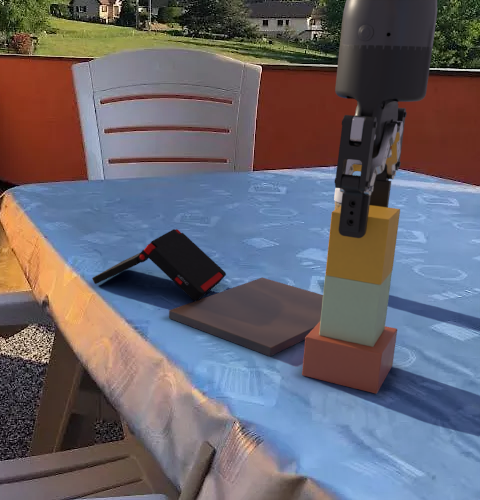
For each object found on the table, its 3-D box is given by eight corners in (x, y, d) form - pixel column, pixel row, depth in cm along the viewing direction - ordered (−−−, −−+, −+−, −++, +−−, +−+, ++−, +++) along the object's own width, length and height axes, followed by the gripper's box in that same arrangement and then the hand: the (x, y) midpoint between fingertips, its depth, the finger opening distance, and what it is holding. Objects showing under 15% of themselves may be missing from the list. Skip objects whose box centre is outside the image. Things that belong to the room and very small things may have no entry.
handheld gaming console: (228, 273, 92) (184, 322, 97) (161, 211, 95) (121, 262, 99) (201, 294, 84) (155, 347, 89) (129, 226, 86) (87, 281, 91)
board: (261, 284, 93) (262, 277, 93) (358, 313, 84) (359, 305, 84) (168, 318, 81) (168, 310, 81) (270, 356, 72) (270, 347, 71)
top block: (339, 262, 69) (345, 202, 68) (392, 270, 67) (400, 208, 65) (325, 275, 65) (331, 211, 63) (381, 285, 63) (389, 219, 61)
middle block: (333, 319, 71) (339, 261, 69) (384, 329, 69) (392, 270, 67) (318, 335, 67) (324, 275, 65) (373, 347, 64) (380, 285, 63)
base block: (322, 350, 73) (326, 313, 72) (392, 366, 70) (397, 328, 69) (301, 375, 68) (305, 336, 67) (376, 394, 64) (382, 353, 63)
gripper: (417, 41, 53) (389, 251, 57) (444, 44, 64) (420, 217, 69) (317, 39, 56) (299, 236, 61) (361, 42, 68) (342, 207, 73)
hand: (363, 226), depth 65 cm, fingers open, 8 cm apart
